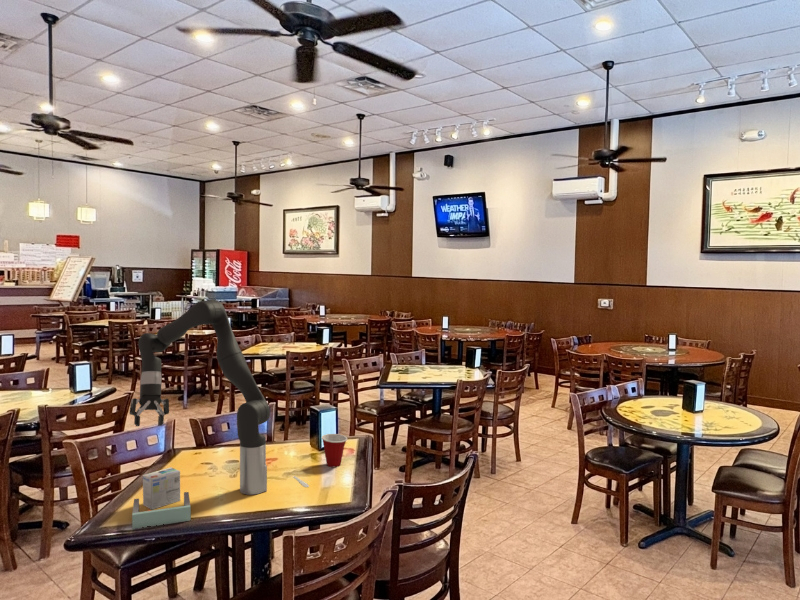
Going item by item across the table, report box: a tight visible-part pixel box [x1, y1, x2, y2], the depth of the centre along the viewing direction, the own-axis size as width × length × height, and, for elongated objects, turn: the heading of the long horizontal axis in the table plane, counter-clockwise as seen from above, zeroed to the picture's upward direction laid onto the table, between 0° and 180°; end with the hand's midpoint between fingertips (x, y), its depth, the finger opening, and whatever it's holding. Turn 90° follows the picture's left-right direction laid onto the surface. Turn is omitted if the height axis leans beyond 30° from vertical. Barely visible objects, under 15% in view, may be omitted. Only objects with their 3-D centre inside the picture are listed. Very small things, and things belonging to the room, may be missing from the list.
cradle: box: [131, 491, 192, 530], centre depth 183 cm, size 17×14×4 cm
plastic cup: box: [321, 433, 348, 468], centre depth 235 cm, size 11×11×12 cm
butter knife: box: [292, 475, 310, 488], centre depth 221 cm, size 1×27×3 cm
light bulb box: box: [142, 466, 181, 511], centre depth 194 cm, size 11×7×11 cm, turn 141°
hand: (149, 425), depth 216 cm, fingers open, 8 cm apart
